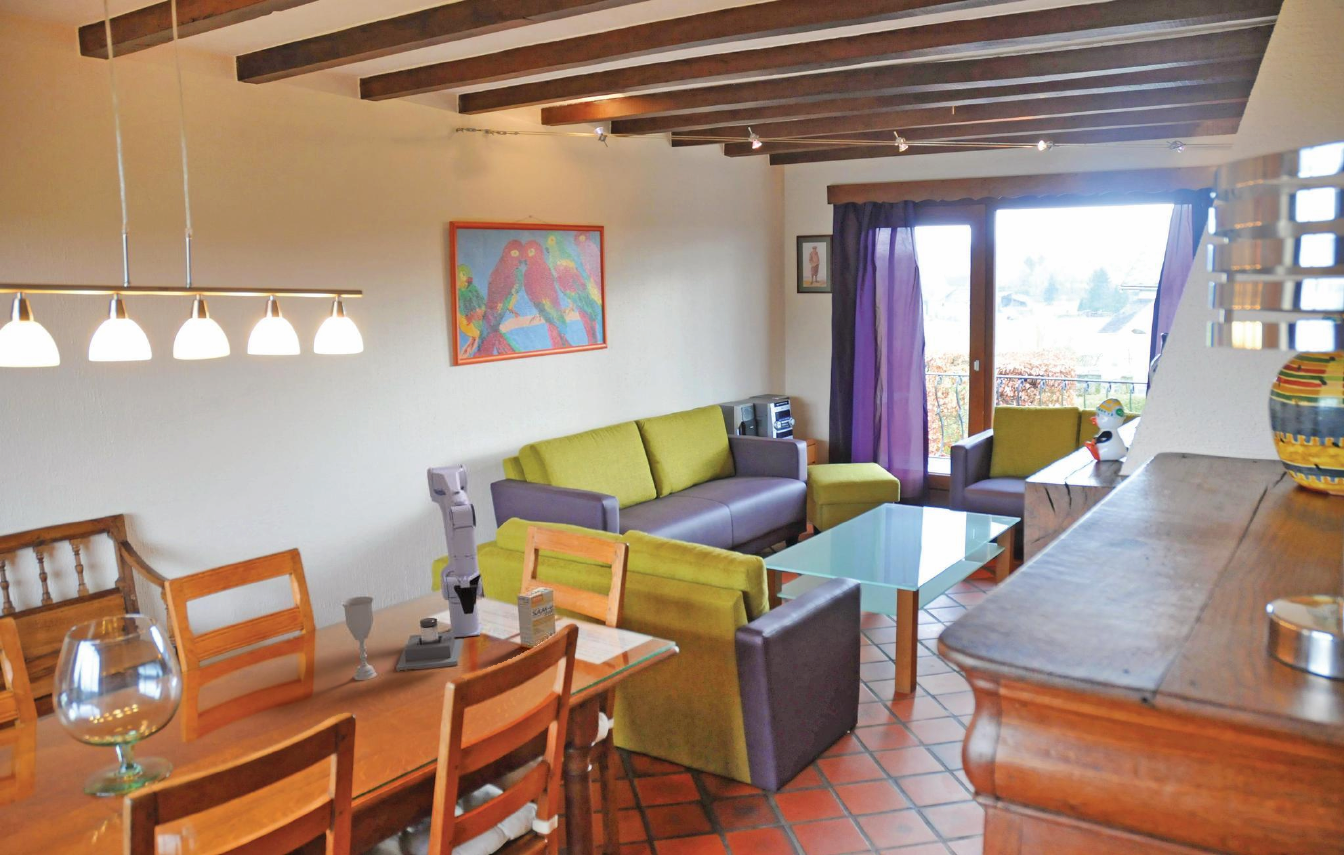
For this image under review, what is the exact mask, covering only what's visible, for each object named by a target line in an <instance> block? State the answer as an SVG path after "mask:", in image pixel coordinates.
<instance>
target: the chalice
mask: <svg viewBox="0 0 1344 855" xmlns="http://www.w3.org/2000/svg"><path fill="white" fill-rule="evenodd" d="M373 601H374V598H373V597H372V596H356V597H355V596H354V597H351V598H347V599H346V598H345V599H344V600H342V601H341V605H342V606H343V608H344V617H345V624H346V627H347V629H348V631H349V632H350V634H351V635H352V637H353V638H354V640H356V641H359V648H358V650H359V651H360V655H359V658H360V659H361V664H360V665H359V666H357V668H356V671H355V674H354V677H353V679H354V680H356V681H367V680H370V679H374V678H375V677H376V676H377V675H378V674H377V673H376V670H375V668H374V667H373V666H372V665H371V664H369V663H367V657H368V654H366V649H367V646H366V645H365V640H367V639H368V638H369V635H370V632H371V631H372V630H371V629H372V626H373V622H374V614H373V607H372V604H373Z"/></svg>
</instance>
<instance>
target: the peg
mask: <svg viewBox="0 0 1344 855" xmlns="http://www.w3.org/2000/svg"><path fill="white" fill-rule="evenodd" d="M438 627H439V626H438V619H437V618H435V617H427V618H423V619H421V620H420V621H419V628H420V635H421V639H422V645H427V644H437V643H439V638H438V633H439V629H438Z"/></svg>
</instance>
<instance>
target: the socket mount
mask: <svg viewBox="0 0 1344 855" xmlns="http://www.w3.org/2000/svg"><path fill="white" fill-rule="evenodd" d="M438 638H439V643H437V644H427V645H422V639H421V634H415V635H410V636H409V638H408V640H407V643H406V644H405V645H404V648H403V650H402V653H401V655H400V657H399V661H398V662H397V665H396V668H395V669H396V672H400V671H399V670H405V671H408V670H407V669H415V670H424V669H433V668H442V667H452V666H453V667H454V666H458V665H459V662H460V657H461V653H462V650H463V644H464V639H463V638H458V639H455V638H454V631H453V632H450V631H445V632H438Z"/></svg>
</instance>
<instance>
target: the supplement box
mask: <svg viewBox="0 0 1344 855" xmlns="http://www.w3.org/2000/svg"><path fill="white" fill-rule="evenodd" d="M516 600H517V601H516V602H517V612H518V613H517V614H518V625H519V626H518V627H519V636H520V637H519V638H520V639H519V640H520V646H521V647H523V648H528V649H532V648H533V647H534V646H537V645H538V644H540V643H541V642H543V641H545V640H546V639H548V638H549V637H550V636H552V635H553V634H555V633H556V634H557V630H556V616H555V615H556V614H555V602H554V601H555V600H554V588H549V587H543V586H540V587H537V588H534V589H532V590H531V589H530V590H529V591H526V592H523V593H520V594H516Z"/></svg>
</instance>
